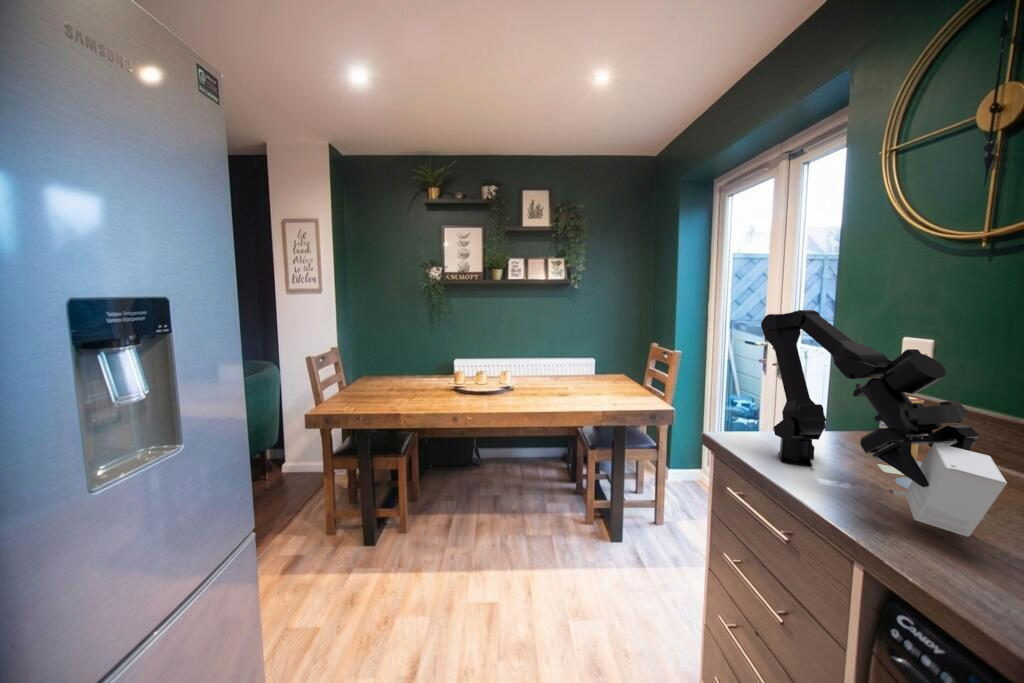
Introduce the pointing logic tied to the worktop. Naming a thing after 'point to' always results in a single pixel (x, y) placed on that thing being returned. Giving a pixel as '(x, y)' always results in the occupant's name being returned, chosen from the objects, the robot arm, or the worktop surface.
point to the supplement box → (955, 489)
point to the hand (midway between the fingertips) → (950, 485)
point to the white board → (900, 481)
